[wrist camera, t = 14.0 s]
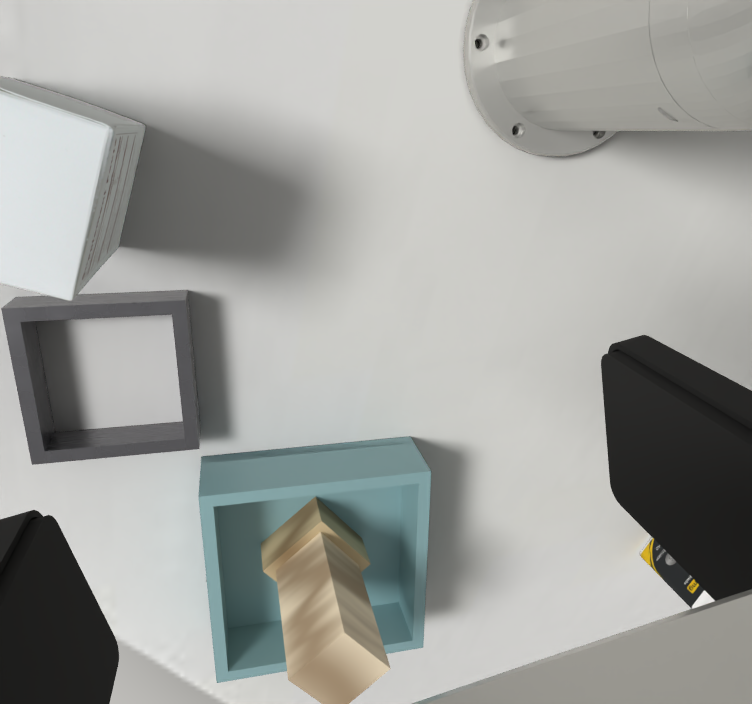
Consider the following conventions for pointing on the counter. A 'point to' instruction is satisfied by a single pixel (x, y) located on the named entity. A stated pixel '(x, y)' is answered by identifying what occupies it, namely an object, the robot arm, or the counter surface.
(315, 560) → the strut
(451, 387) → the counter surface
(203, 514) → the bin
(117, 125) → the supplement box
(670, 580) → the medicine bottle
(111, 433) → the collar
